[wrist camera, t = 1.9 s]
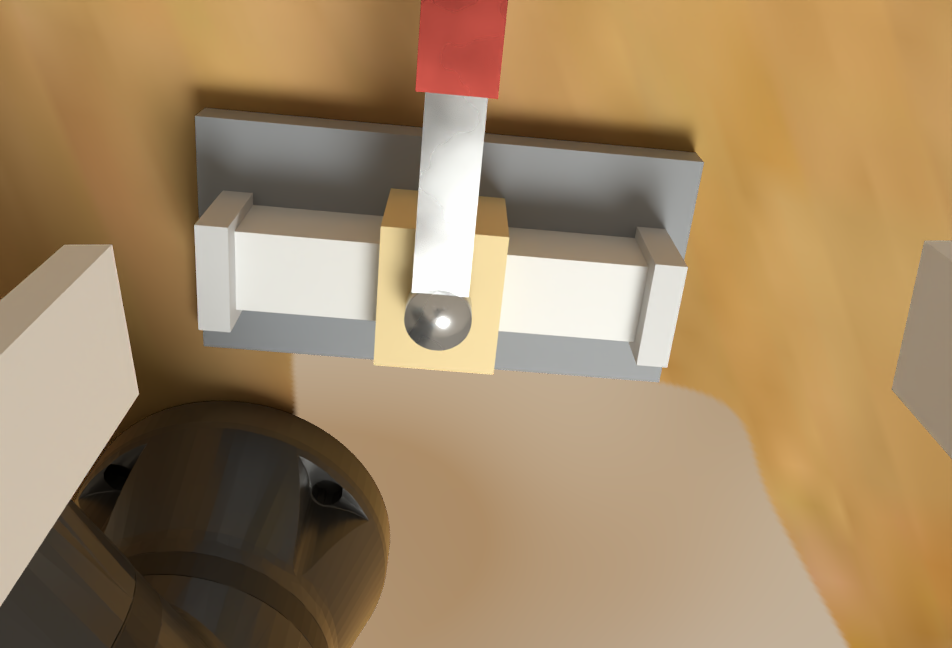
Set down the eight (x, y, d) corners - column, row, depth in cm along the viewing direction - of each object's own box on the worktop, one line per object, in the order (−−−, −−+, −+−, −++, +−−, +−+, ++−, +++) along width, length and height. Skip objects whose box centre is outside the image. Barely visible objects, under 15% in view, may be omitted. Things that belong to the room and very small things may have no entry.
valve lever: (401, 331, 34) (398, 351, 33) (428, -84, 28) (426, -83, 27) (471, 337, 34) (471, 357, 33) (513, -75, 28) (515, -74, 27)
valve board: (212, 331, 41) (172, 399, 35) (204, 107, 37) (158, 145, 31) (652, 366, 42) (680, 438, 36) (695, 152, 38) (734, 197, 32)
